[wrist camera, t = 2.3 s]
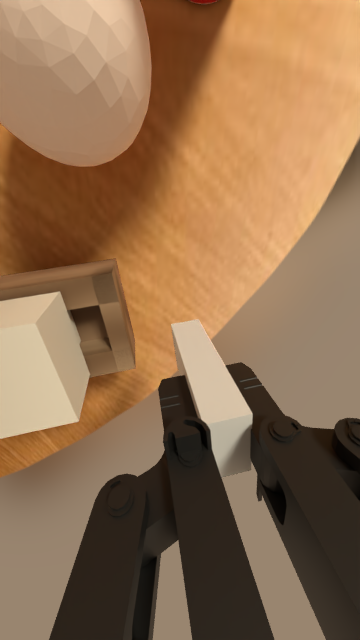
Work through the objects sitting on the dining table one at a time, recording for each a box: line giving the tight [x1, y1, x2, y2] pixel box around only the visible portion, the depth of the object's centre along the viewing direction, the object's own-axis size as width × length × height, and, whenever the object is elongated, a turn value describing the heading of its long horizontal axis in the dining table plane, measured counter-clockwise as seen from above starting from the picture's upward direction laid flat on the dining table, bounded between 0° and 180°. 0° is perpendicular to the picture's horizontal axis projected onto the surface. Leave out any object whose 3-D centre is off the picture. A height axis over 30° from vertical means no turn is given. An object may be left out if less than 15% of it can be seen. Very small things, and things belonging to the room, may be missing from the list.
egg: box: [0, 0, 152, 167], centre depth 11 cm, size 8×8×11 cm
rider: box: [0, 292, 90, 439], centre depth 14 cm, size 6×6×6 cm
